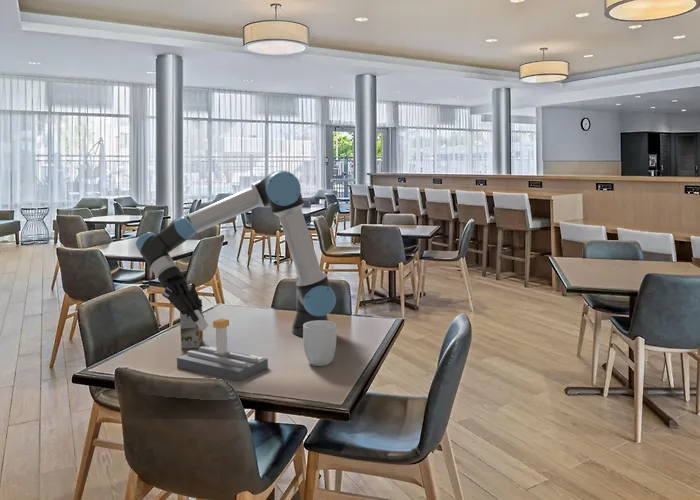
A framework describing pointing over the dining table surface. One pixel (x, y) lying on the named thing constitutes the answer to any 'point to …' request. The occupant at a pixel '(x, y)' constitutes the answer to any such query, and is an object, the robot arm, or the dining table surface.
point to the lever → (221, 337)
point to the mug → (319, 341)
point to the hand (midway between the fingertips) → (204, 328)
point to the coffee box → (190, 332)
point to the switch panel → (222, 363)
